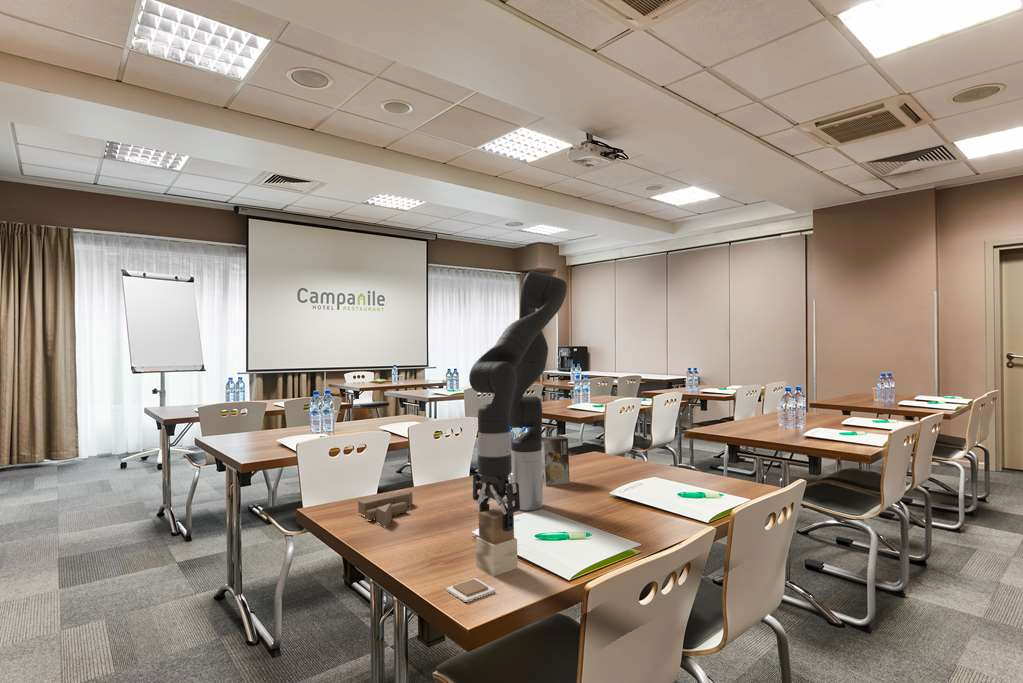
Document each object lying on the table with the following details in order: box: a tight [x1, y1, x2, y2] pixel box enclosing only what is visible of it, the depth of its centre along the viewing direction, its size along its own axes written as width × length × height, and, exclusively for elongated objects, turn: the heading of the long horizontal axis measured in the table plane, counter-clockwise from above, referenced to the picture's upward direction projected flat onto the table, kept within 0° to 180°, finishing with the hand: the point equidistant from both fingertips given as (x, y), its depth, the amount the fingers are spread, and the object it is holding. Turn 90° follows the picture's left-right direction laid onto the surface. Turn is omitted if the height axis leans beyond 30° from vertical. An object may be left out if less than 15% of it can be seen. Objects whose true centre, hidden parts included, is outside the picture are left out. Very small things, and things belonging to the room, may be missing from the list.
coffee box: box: [542, 435, 571, 487], centre depth 190 cm, size 9×6×16 cm
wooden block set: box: [357, 490, 414, 528], centre depth 157 cm, size 17×6×18 cm
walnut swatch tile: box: [445, 577, 496, 603], centre depth 106 cm, size 7×7×1 cm
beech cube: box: [475, 536, 519, 577], centre depth 118 cm, size 6×6×6 cm
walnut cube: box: [478, 507, 515, 544], centre depth 118 cm, size 6×6×6 cm
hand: (496, 525), depth 118 cm, fingers open, 8 cm apart
